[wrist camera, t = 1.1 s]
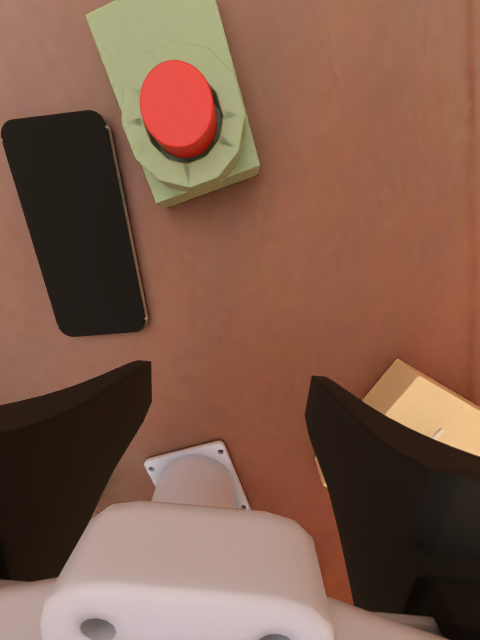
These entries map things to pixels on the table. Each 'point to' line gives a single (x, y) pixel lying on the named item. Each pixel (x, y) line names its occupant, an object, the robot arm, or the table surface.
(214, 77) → the block
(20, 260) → the table surface
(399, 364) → the plate
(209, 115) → the button
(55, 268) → the smartphone
